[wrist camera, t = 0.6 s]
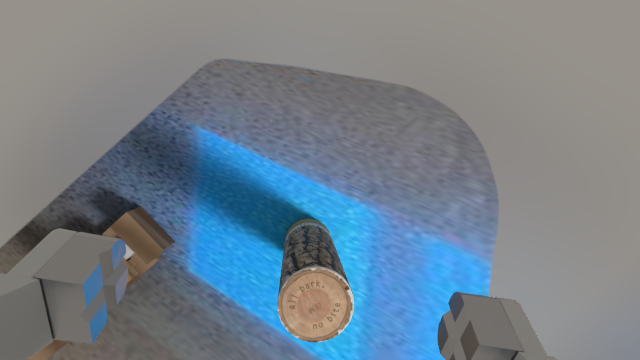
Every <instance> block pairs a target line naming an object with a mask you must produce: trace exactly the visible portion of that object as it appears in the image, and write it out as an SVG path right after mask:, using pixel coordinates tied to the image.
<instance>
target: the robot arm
mask: <svg viewBox="0 0 640 360" xmlns="http://www.w3.org/2000/svg"><path fill="white" fill-rule="evenodd" d="M125 254H126V246H125V241H123V240H122V239H118V238H112V237H107V236H101V235H96V234H90V233H84V232H76V231H71V230H66V229H60V228H59V229H56V230H53V231H51V232H50V233H49V234H48V235H47V236H46V237H45V238H44V239H43V240H42V241H41V242H40V243H39V244H38V245H37V246H36V247H34V248H33V249H32V250H31V251H30V252H29V253H28V254H27V255H26V256H25V257H24V258H23V259H22V260H21V261H20V262H19V263H18V264H17V265H16V266H15V267H13V268H12V269H11V270H10V271H9V272H8V273H7V274H1V273H0V360H27V359H28V358H30V357H31V356H33V355H34V354H36V353H37V352H39V351H40V350H42V349H43V348H45V347H46V346H47V345H49V344H50V343H52V342H53V339H54V340H63V341H71V342H80V343H88V344H93V342H94V341H95V339H96V338H97V336H98V335H99V333H100V331H101V330H102V328H103V327H104V325H105V324H106V322H107V311H108V310H110V309H111V308H113V307H115V306H117V305H118V303H119V301H120V300H121V298H122V296H123V294H124V291H125V288H126V285H127V280H128V267H127V265H126V264H125V263H124V262H123V261H122V258H123V257H124V255H125ZM449 306H450V309H451V311H449V312H447V313H446V314H444V315H443V316H442V318H441V321H440V323H439V328H438V346H439V350H440V354H441V355H442V356H443V357H444V358H445V359H446V360H556V359H555V358H554V357H551V356H547V354H546V352H545V351H544V349H543V347H542V345H541V343H540V341H539V339H538V337H537V335H536V334H535V332H534V330H533V328H532V326H531V324H530V322H529V320H528V318H527V317H526V315H525V313H524V311H523V309H522V307H521V305H520V304H519V303H518V302H517V301H516V300H511V299H504V298H497V297H495V298H493V297H488V296H481V295H474V294H468V293H461V292H455V293H454V294H453V295H452V296H451V299H450V301H449Z"/></svg>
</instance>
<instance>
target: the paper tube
mask: <svg viewBox="0 0 640 360" xmlns="http://www.w3.org/2000/svg"><path fill="white" fill-rule="evenodd" d="M353 310H354V299H353V294H352V290H351V288H350V285H349V282H348V280H347V277H346V275H345V272H344V269H343V267H342V264H341V262H340V259H339V256H338V254H337V251H336V249H335V246H334V243H333V241H332V239H331V236H330V233H329V231H328V229H327V228H326V226H325V225H324V224H322V223H321V222H319V221H317V220H315V219H302V220H299V221H297V222H295V223H294V224H293V225H292V226H291V227H290V228H289V230H288V232H287V234H286V238H285V245H284V253H283V261H282V270H281V278H280V286H279V295H278V313H279V317H280V320H281V322H282V324H283V326H284V327H285V328H286V329H287V331H288V332H289V333H291V334H292V335H293V336H295V337H296V338H298V339H301V340H303V341H307V342H323V341H327V340H329V339H332V338H334V337H336V336H337V335H339V334H340V333H341V332H342V331H343V330H344V329H345V328H346V327H347V325H348V324H349V322H350V320H351V318H352V315H353Z"/></svg>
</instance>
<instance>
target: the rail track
mask: <svg viewBox="0 0 640 360" xmlns="http://www.w3.org/2000/svg"><path fill="white" fill-rule="evenodd" d="M101 236H107V237H112V238H118V239H122V240H123V241H125V246H126V254H125V255H124V257H123V258H124V259H125V260H126V261H129V260H130V259H132V260H133V261H134V262H135V263H136V265H134V266H133V268H134V269H135V270H136V271H137V272H138V274H137V275H136V276H134V277H133V278H132V279H131V280H130V281H129V282H128V283H127V285H126V288H125V290H126V289H127V288H128V287H129V286H130V285H131V284H133V283H134V282H135V281H136V280H137V279H138V278H139V277H140V276H142V275H143V274H144V273H145V272H146V271H147V270H148V269H149V268H150V267H152V266H153V265H154V264H155V263H156V262H157V261H158V260H159V259H161V258H162V257H161V256H160V254H161V253H162V252H163V251H164V250H166V249H167V248H168V247H169V246H170V245H171V244H172V243H173V242H175V241H174V240H173V239H172V238H171V237H170V236H169V235H168V234H167V233H166V232H165V231H164V230H163V229H162V228H161V227H160V226H159V225H158V224H157V223H156V221H155V220H154V219H153V218H152V217H151V216H150V215H149V214H148V213H147V212H146V211H145V210H144V209H143V208H142V207H138V208H135V209H133V210H130V211H128V212H126V213H125V214H124V215H123V216H121V217H120V218H119V219H118V220H117V221H116V222H115V223H114V224H113V225H111V226H110V228H109V229H107V230H106V231H105V232H104V233H103V234H102V235H101ZM66 342H68V341H63V340H54V339H53V342H52V343H50V344H49V345H47V346H46V347H45V348H43V349H42V350H40V351H39V352H37V353H36V354H34V355H33V356H31V357H30V358H28V359H27V360H47V359H48V358H50V357H51V356H52V355H53V354H54V353H55V352H56V351H57V350H59V349H60V348H61V347H62V346H63V345H64V344H65V343H66Z"/></svg>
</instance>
